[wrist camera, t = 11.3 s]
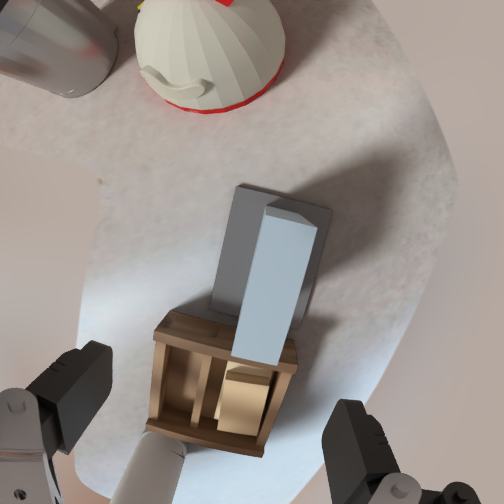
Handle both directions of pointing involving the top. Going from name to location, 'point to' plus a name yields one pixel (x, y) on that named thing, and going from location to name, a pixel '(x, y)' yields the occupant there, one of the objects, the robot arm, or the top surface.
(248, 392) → the offcut upper
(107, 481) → the top surface
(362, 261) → the top surface
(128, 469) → the travel mug
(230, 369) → the offcut lower
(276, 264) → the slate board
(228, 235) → the mat
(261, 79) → the kitchen timer
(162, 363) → the rack
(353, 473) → the robot arm
